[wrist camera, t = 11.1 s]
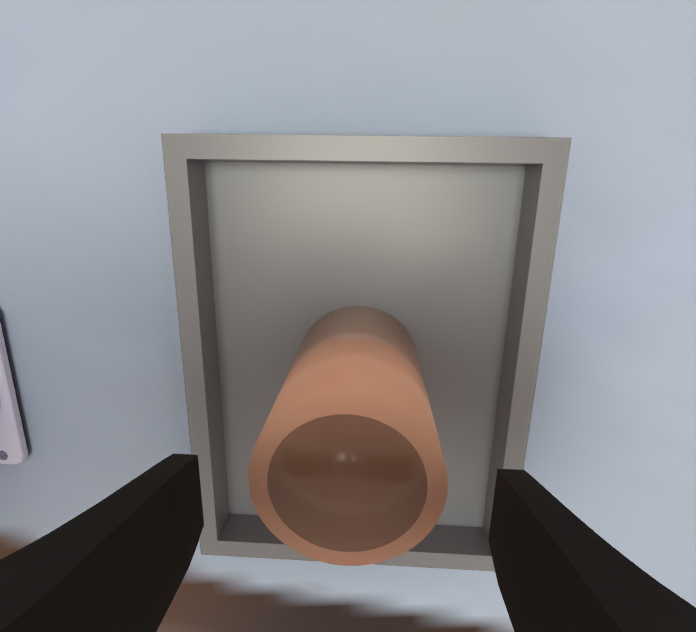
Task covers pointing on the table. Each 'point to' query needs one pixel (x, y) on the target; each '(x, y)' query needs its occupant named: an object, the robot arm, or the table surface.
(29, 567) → the robot arm
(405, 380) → the cup
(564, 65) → the table surface
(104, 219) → the table surface
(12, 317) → the table surface
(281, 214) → the tray
